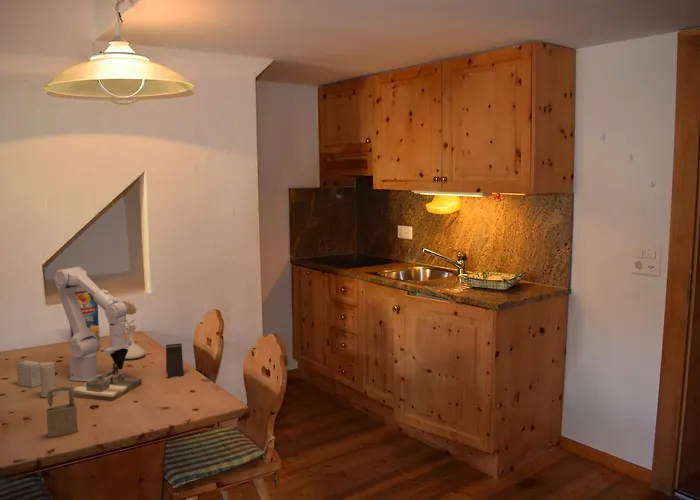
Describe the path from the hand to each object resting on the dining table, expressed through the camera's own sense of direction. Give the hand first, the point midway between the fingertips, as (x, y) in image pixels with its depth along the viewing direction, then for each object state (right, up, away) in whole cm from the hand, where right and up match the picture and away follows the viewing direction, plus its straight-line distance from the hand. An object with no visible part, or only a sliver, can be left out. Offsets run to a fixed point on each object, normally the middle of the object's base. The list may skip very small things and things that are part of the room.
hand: (119, 368), depth 231 cm
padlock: (-1, -12, -44) cm, 45 cm away
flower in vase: (-8, -2, +35) cm, 36 cm away
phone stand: (+17, -5, +13) cm, 22 cm away
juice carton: (-39, +1, +60) cm, 71 cm away
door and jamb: (-2, -7, -7) cm, 10 cm away
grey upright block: (-33, -6, -1) cm, 34 cm away
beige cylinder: (-21, -8, -12) cm, 25 cm away
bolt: (-1, -4, -5) cm, 6 cm away
